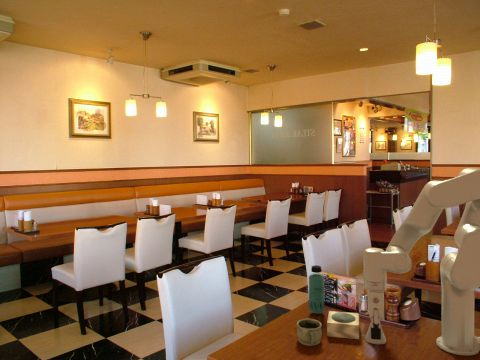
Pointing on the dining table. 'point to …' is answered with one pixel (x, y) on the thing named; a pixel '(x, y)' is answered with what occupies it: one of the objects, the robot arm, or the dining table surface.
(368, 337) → the flask
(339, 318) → the pedestal
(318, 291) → the beverage bottle
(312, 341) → the vessel
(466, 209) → the robot arm
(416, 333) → the dining table surface
